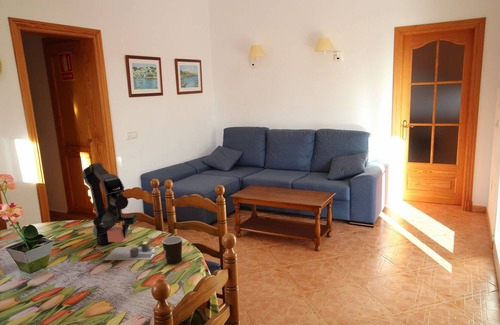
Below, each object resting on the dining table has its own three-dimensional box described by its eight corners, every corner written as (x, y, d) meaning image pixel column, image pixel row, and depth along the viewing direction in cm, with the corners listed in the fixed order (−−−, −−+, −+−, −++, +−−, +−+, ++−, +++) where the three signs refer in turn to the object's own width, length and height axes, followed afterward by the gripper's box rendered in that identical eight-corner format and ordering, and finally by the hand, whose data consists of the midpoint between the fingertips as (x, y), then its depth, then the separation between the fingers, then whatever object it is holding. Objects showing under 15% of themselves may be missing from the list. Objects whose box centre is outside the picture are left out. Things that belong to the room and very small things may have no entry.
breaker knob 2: (141, 250, 176) (141, 244, 175) (144, 247, 179) (143, 241, 178) (147, 250, 176) (146, 244, 175) (149, 247, 179) (148, 241, 178)
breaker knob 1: (130, 256, 170) (129, 250, 170) (133, 253, 173) (132, 247, 173) (136, 256, 170) (135, 250, 170) (138, 253, 173) (137, 247, 173)
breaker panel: (104, 262, 170) (103, 258, 170) (116, 249, 183) (116, 246, 182) (151, 261, 168) (151, 258, 167) (160, 249, 180) (160, 245, 180)
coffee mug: (181, 265, 163) (179, 243, 161) (162, 266, 163) (159, 244, 161) (186, 253, 174) (185, 233, 172) (168, 254, 175) (166, 233, 173)
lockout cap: (108, 241, 169) (106, 231, 168) (114, 236, 175) (113, 226, 174) (121, 241, 168) (120, 231, 167) (127, 236, 174) (126, 225, 173)
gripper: (84, 210, 161) (89, 244, 165) (126, 210, 159) (130, 244, 162) (97, 202, 172) (101, 234, 175) (136, 201, 170) (140, 234, 173)
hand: (117, 237), depth 171 cm, fingers closed on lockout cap, 6 cm apart
